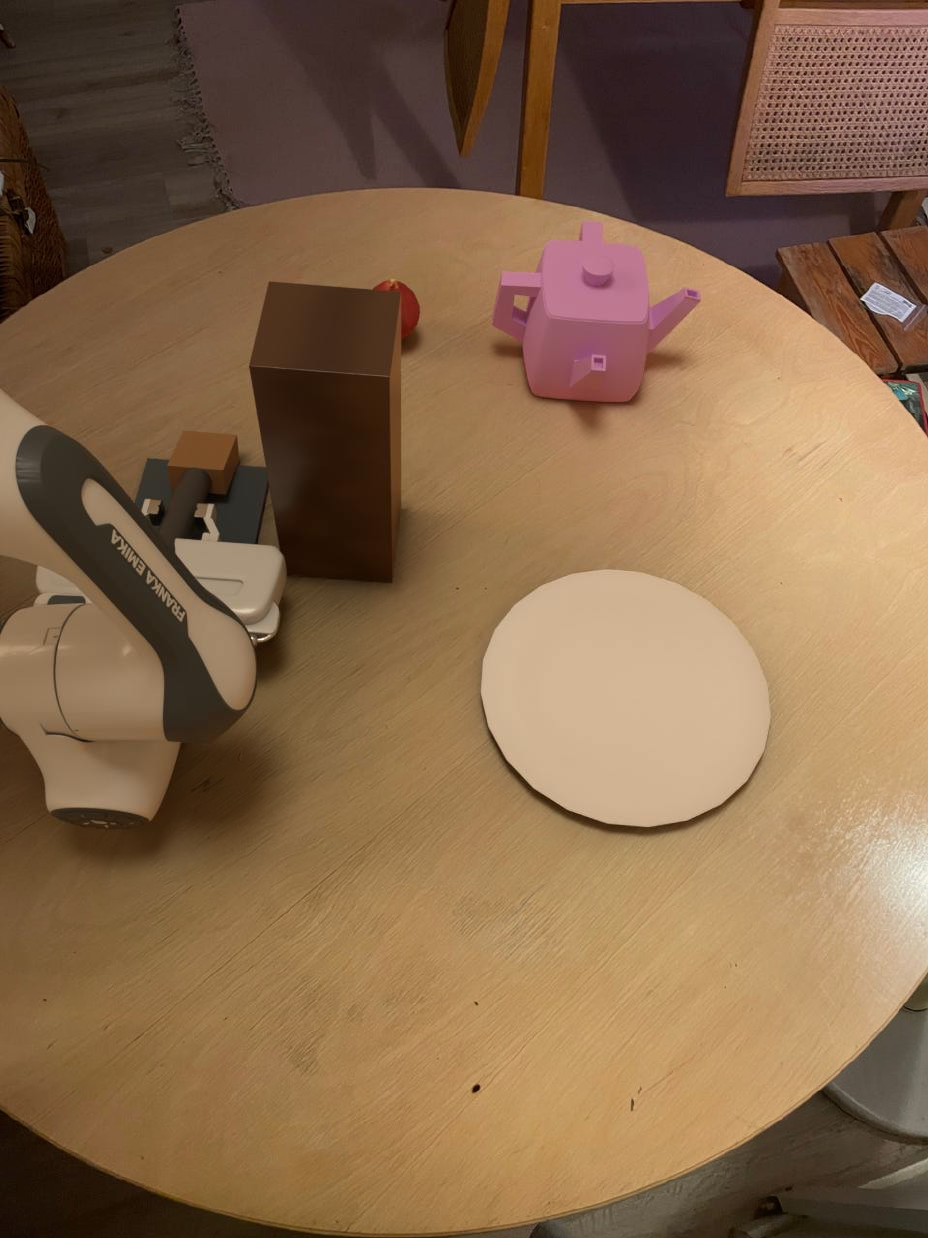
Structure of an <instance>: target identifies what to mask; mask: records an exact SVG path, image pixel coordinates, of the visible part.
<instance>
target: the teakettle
mask: <svg viewBox="0 0 928 1238" xmlns="http://www.w3.org/2000/svg"><path fill="white" fill-rule="evenodd" d="M649 287H650V285H649V278H648V272H647V266H646V261H645V258H644V254H643V252H642V250H641V249H640V247H639V246H637V245H634V244H627V243H626V244H625V243H616V242H605V241H604V222H602V221H589V220H582V221H581V226H580V231H579V237H578V240H576V239H575V240H573V239H572V240H571V239H551V240H549V241H547V242H546V244H545V246H544V249H543V251H542V253H541V256H540V259H539V261H538V263H537V267H536V270H535V272H533V271H511V270H502V271H501V273H500V278H499V283H498V288H497V292H496V295H495V300H494V305H493V310H492V318H491V319H492V320H491V326H492V327H494V328H496V329H497V330H499V331H501V332H503V333H505V334H507V335H509V336H510V337H512V338H514V339H516V340H517V341H520V342H521V343H522V353H523V362H524V367H525V368H524V369H525V372H526V378H527V382H528V385H529V388H530V391H531V392H532V394H533V395H534V396H536V397H541V398H548V399H556V400H557V399H558V400H568V401H578V402H579V401H581V402H599V403H626V402H629V401H631V399H632V398H634V396H635V395H636V394H637V392H638V391H639V388H640V386H641V384H642V380H643V376H644V372H645V368H646V367H645V366H646V363H647V362H646V360H647V354H650V353H651V352H652V351H654V349H655V348H656V347H657V346H658V345H659V344H660V343H661V342H662V341H664V339H665V338H666V337H667V336H668V335H669V334H670V333H671V332H672V331H673V330H674V329H675V328H676V327H677V326H678V325H679V324H680V323H681V322H682V321H683V320H684V319H685V318H686V317H687V316H688V315H689V314H690V313H691V312H692V311H693V310H694V309H695V308H696V307H697V306H698V305H699V304H700V303H701V301H702V296H701V290H698V289H694V288H689V287H686V286H683V288H682V289H681V290H678V291H677V292H675V293H674V294H671V295H669V296H668V297H667V298H664V299H663V300H661V301H658V302H657V303H656V304H653V305H652V306H650V288H649ZM515 296H523V297H528V298H527V304H526V307H525V310H523V309H522V308H520V307H518V306H516V305H514V304H515Z"/></svg>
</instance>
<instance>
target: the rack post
mask: <svg viewBox="0 0 928 1238" xmlns="http://www.w3.org/2000/svg"><path fill="white" fill-rule="evenodd" d="M251 351H252V352H251V356H250V360H249V364H248V369H249V375H250V380H251V386H252V393H253V398H254V404H255V405H254V406H255V410H256V416H257V423H258V429H259V435H260V440H261V446H262V452H263V458H264V463H265V464H264V465H265V467H266V471H267V477H268V482H269V487H268V489H269V494H270V500H271V505H272V511H273V516H274V517H273V519H274V524H275V530H276V536H277V541H278V549H279V551H280V552H281V553H282V555H283V556H284V559H285V563H286V570H287V576H288V577H289V576H292V577H305V578H318V579H331V580H343V581H344V580H345V581H358V582H368V583H369V582H372V583H384V584H393V583H394V575H395V573H394V572H395V565H396V556H397V549H398V548H397V547H398V540H399V539H398V538H399V529H400V519H401V513H402V339H401V292H398V291H385V290H373V288H371V289H370V288H358V287H345V286H335V285H333V286H332V285H322V284H321V285H320V284H310V283H309V284H307V283H295V282H284V281H283V282H282V281H271V280H270V281H268V283H267V287H266V291H265V296H264V300H263V304H262V309H261V313H260V318H259V322H258V326H257V330H256V335H255V339H254V343H253V347H252V350H251Z"/></svg>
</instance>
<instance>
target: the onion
mask: <svg viewBox="0 0 928 1238" xmlns="http://www.w3.org/2000/svg"><path fill="white" fill-rule="evenodd" d="M372 290H385V291H398V292H401V340H403V339H404V338H406V337H408V336H409V335H410V334H411V333H412V332H413V331H414V330H415V328H416V327H418V324H419V320H420V315H421V306H420V303H419V300H418V298H417V296H416V294H415V292H414V291H413V290H412V289H411V288H410V287H409V286H408V285H406V284H405V283H403V282H401V281H399V280H398V279H396V278H390V279H388V280H384V281H382V282H380V283H379V284H377V285H375V286H374V287H373V288H372Z"/></svg>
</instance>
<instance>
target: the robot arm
mask: <svg viewBox="0 0 928 1238" xmlns="http://www.w3.org/2000/svg"><path fill="white" fill-rule="evenodd" d="M164 514H165V506H164V505H163V500H153V499H145V500H144V504H143V507H142V511H141V510H140V509H139V508H138V507H137V505H136V504H135V501H134V500H133V499H132V498H131V496H130V495H129V494H128V493H127V491H125V489H124V487H122V486H121V484H119V482H118V481H117V480H116V478H114V476H113V475H112V474H111V473H110V471H109V470H108V469H107V468H106V467H105V466H104V465H103V464H102V462H100V460H98V458H97V457H96V456H95V455H94V454H93V453H92V452H91V451H90V450H88V449H87V448H86V447H85V446H84V445H83V444H82V443H81V442H79V441H78V440H76V439H75V438H73V437H71V436H69V435H68V434H66V433H64V432H63V431H61V430H59V429H57V428H55V427H53V426H51V425H49V424H47V423H46V422H44V421H43V420H41V419H40V418H38V417H37V416H36V415H34V414H33V413H31V412H30V411H28V410H27V409H26V408H24V407H23V406H21V405H20V404H19V403H18V402H16V400H14V399H13V398H12V397H11V396H9V395H8V394H7V393H6V392H5V391H4V390H2V389H1V388H0V556H3V557H7V558H11V559H15V560H19V561H21V562H26V563H30V564H32V565H36V566H37V567H36V572H35V586H36V589H37V591H38V593H39V595H38V596H37V597H36V598H35V601H34V603H33V605H32V606H28V607H26V606H25V607H20V608H17V609H16V610H14V611H13V612H11V613H10V614H9V615H8V616H6V618H5V619H4V620H3V621H2V622H1V623H0V724H1V725H2V726H3V727H4V728H5V729H6V730H7V731H8V732H10V733H11V734H13V735H14V736H16V737H18V738H19V739H21V740H22V741H23V743H24V746H25V747H26V748H27V750H28V751H29V752H30V754H31V756H32V757H33V759H34V761H35V763H36V764H37V766H38V768H39V770H40V772H41V775H42V777H43V782H44V795H45V805H46V809H47V810H48V812H49V814H50V815H51V816H52V817H54V818H56V819H57V820H59V821H60V822H63V823H66V824H68V825H71V826H76V827H81V828H91V829H97V830H124V829H125V830H127V829H134V828H138V827H141V826H144V825H146V824H148V823H150V822H151V821H152V820H153V819H154V817H155V816H156V814H157V812H158V810H159V809H160V807H161V804H162V802H163V800H164V799H165V795H166V792H167V790H168V788H169V785H170V781H171V778H172V775H173V773H174V769H175V765H176V762H177V759H178V755H179V752H180V748H181V743H183V744H198V745H199V744H200V745H209V744H212V743H213V742H215V741H216V740H217V739H219V738H220V737H222V735H224V734H225V733H226V732H227V731H229V730H230V729H231V728H232V727H233V726H234V725H236V723H237V722H238V721H239V720H240V719H241V718H242V717H243V715H245V713H246V712H247V711H248V710H249V708H250V707H251V706H252V703H253V701H254V698H255V695H256V692H257V687H258V670H259V669H258V658H257V653H256V647H258V644H262V643H265V642H268V641H270V640H271V639H272V638H274V637H276V635H277V633H278V631H279V627H280V621H281V617H282V612H281V608H280V606H279V605H280V602H281V600H282V596H283V593H284V590H285V586H286V581H287V576H288V575H287V570H286V563H285V559H284V556H283V555H282V553H281V552H280V548H279V547H277V546H275V545H268V544H257V545H256V544H243V543H230V542H221V539H220V535H219V532H218V530H217V528H216V526H215V523H216V518H217V511H216V507H215V504H206V503H198V504H197V510H196V511H195V515H194V518H195V521H196V522H197V523H196V525H197V529H204V530H207V532H208V533H203V536H202V540H191V539H178V538H177V539H175V552H174V551H173V550H172V549H171V547H170V546H169V545H168V544H167V542H166V541H165V540H164V539H163V537H162V536H161V535H160V534H159V532H158V531H157V530H156V529H155V528H154V526H160V524H161V521H162V519H163V517H164Z"/></svg>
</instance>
